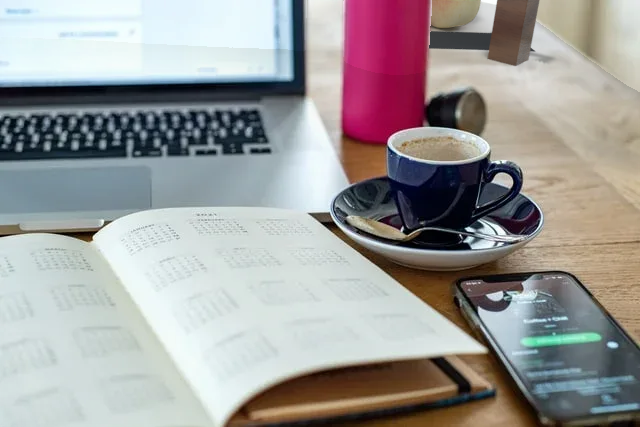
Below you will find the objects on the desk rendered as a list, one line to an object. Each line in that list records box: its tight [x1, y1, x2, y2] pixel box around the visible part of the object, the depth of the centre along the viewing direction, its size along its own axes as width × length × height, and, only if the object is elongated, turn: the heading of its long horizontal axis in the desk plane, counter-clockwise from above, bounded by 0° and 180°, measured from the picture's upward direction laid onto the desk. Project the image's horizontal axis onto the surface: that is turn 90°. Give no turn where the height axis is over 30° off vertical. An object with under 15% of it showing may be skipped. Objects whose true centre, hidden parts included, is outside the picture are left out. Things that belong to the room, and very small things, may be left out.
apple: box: [430, 0, 482, 29], centre depth 132 cm, size 9×9×8 cm
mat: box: [428, 30, 536, 53], centre depth 125 cm, size 16×9×1 cm, turn 99°
